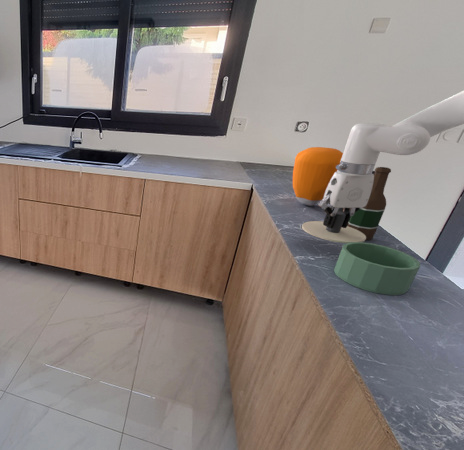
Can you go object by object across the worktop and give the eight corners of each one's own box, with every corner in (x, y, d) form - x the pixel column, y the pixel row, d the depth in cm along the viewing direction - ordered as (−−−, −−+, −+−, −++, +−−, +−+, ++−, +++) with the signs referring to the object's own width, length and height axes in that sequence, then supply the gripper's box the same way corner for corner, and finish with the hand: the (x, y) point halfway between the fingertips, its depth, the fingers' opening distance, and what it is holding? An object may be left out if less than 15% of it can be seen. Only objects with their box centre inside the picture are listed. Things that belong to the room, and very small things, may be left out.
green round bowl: (371, 264, 90) (381, 241, 87) (424, 294, 77) (438, 268, 74) (321, 265, 91) (329, 242, 88) (365, 295, 77) (376, 269, 74)
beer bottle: (345, 229, 112) (370, 164, 103) (374, 236, 107) (403, 167, 97) (339, 235, 108) (364, 167, 98) (369, 243, 102) (398, 172, 93)
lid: (336, 223, 105) (343, 203, 102) (379, 245, 90) (389, 222, 88) (290, 224, 105) (296, 204, 102) (325, 245, 91) (333, 223, 88)
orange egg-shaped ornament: (278, 197, 147) (293, 143, 137) (321, 200, 142) (339, 144, 132) (290, 209, 132) (307, 150, 122) (338, 213, 127) (360, 151, 117)
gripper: (336, 172, 86) (316, 231, 93) (397, 171, 86) (371, 231, 93) (316, 166, 93) (299, 222, 100) (372, 165, 93) (350, 221, 100)
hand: (334, 225), depth 97 cm, fingers closed on lid, 3 cm apart
